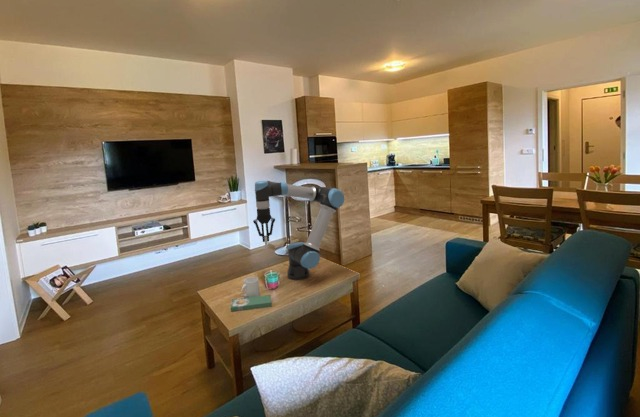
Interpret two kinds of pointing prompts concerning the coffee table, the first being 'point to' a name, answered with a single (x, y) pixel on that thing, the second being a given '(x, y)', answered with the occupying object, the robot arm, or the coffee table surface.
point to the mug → (251, 287)
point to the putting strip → (251, 303)
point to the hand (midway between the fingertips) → (266, 246)
